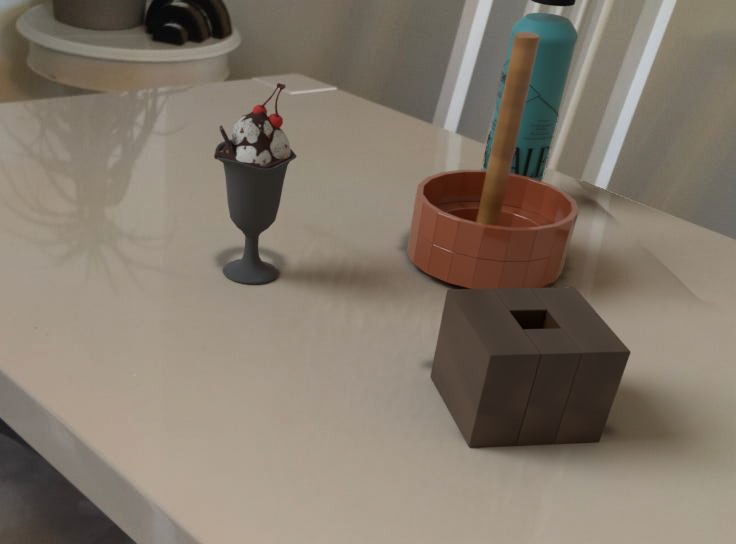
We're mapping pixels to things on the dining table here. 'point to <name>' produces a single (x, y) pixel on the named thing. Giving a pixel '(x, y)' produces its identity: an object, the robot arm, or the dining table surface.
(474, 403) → the holder
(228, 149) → the sundae
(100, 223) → the dining table surface
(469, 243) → the bowl
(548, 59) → the beverage bottle
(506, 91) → the stick
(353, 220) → the dining table surface
